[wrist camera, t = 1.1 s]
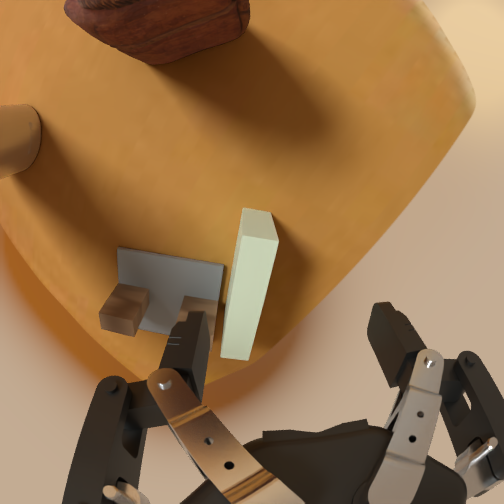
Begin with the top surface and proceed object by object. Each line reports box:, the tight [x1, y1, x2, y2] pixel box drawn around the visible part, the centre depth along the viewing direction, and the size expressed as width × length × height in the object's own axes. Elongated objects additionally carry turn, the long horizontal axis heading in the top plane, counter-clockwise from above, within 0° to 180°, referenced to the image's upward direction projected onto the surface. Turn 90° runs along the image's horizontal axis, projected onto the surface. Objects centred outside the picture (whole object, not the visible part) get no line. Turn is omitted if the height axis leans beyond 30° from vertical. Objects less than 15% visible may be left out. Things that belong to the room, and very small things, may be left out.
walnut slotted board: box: [99, 283, 218, 351], centre depth 31 cm, size 13×2×6 cm, turn 79°
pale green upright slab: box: [220, 208, 279, 361], centre depth 29 cm, size 3×14×8 cm, turn 169°
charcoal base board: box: [117, 247, 224, 335], centre depth 34 cm, size 13×12×1 cm
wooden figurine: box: [64, 0, 250, 65], centre depth 13 cm, size 12×6×18 cm, turn 107°
